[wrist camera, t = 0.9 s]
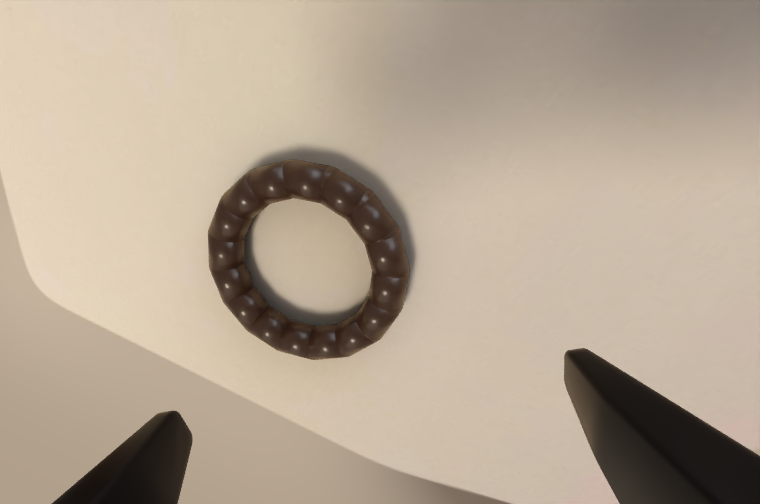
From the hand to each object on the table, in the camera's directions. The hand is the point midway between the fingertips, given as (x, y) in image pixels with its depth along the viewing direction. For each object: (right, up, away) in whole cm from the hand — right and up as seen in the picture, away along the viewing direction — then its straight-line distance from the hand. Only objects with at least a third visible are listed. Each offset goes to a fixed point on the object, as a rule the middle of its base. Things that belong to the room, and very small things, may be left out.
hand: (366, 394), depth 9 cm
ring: (-4, +2, +14) cm, 15 cm away
